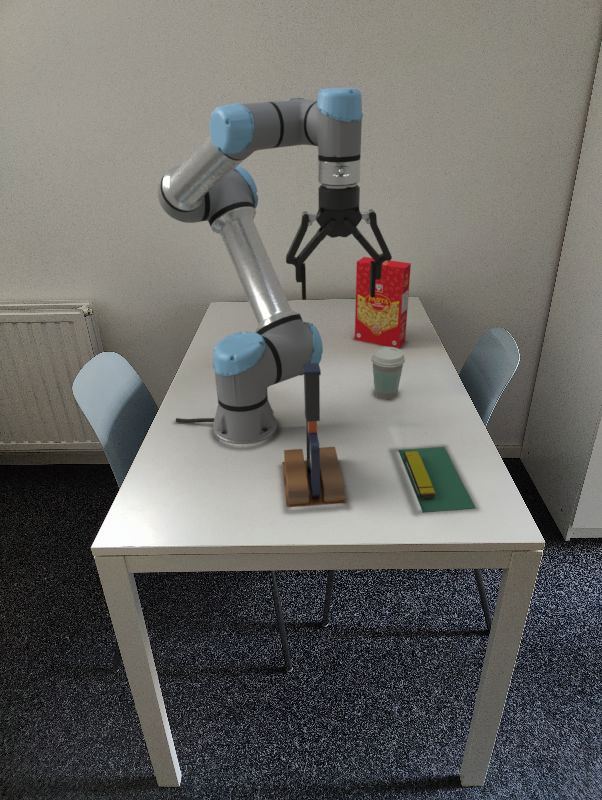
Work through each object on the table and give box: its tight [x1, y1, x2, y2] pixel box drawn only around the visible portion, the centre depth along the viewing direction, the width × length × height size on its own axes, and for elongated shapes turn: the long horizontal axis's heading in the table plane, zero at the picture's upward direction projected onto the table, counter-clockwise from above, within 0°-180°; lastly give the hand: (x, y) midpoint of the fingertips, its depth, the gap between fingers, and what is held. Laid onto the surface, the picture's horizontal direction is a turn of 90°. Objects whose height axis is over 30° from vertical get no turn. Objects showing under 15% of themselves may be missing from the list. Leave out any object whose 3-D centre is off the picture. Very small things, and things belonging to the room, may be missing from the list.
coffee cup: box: [370, 346, 406, 400], centre depth 152 cm, size 9×8×12 cm
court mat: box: [397, 446, 476, 513], centre depth 124 cm, size 12×21×1 cm, turn 5°
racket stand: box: [281, 446, 348, 508], centre depth 121 cm, size 15×12×5 cm
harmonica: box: [404, 451, 435, 498], centre depth 123 cm, size 15×3×2 cm, turn 4°
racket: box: [303, 363, 322, 497], centre depth 114 cm, size 11×3×27 cm, turn 5°
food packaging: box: [354, 256, 412, 349], centre depth 177 cm, size 15×5×25 cm, turn 60°
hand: (338, 296), depth 117 cm, fingers open, 13 cm apart
